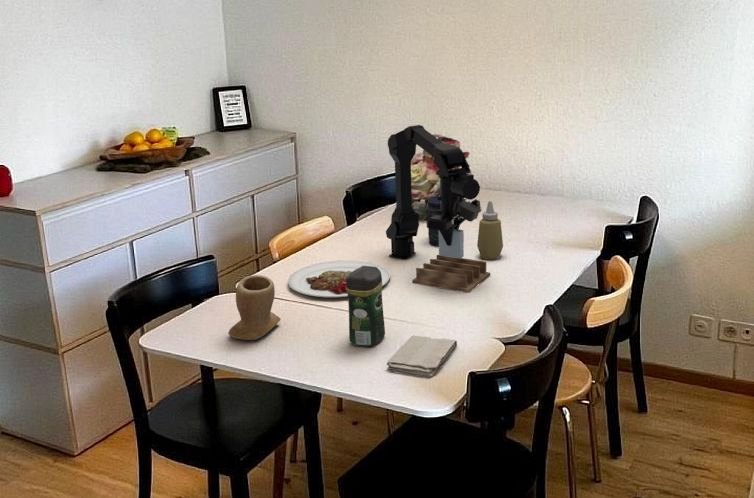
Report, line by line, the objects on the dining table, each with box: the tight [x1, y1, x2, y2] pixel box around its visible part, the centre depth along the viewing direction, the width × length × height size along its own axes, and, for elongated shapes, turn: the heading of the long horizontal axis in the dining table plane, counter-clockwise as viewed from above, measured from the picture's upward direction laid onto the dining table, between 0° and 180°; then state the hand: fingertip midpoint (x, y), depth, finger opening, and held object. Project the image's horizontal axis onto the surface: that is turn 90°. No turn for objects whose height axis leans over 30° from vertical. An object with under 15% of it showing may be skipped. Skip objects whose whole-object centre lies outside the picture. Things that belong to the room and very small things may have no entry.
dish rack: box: [411, 254, 491, 293], centre depth 246 cm, size 18×15×4 cm
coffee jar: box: [346, 266, 386, 348], centre depth 206 cm, size 10×8×19 cm
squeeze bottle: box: [476, 200, 504, 260], centre depth 262 cm, size 8×8×18 cm
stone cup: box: [227, 274, 281, 341], centre depth 215 cm, size 15×12×15 cm
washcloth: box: [386, 335, 458, 378], centre depth 198 cm, size 12×18×3 cm, turn 158°
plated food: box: [287, 260, 391, 298], centre depth 248 cm, size 30×30×3 cm
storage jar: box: [427, 196, 442, 248], centre depth 278 cm, size 10×10×15 cm
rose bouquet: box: [411, 133, 472, 222], centre depth 308 cm, size 26×29×30 cm
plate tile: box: [438, 228, 465, 259], centre depth 243 cm, size 7×2×8 cm, turn 59°
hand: (450, 244), depth 244 cm, fingers closed on plate tile, 2 cm apart
